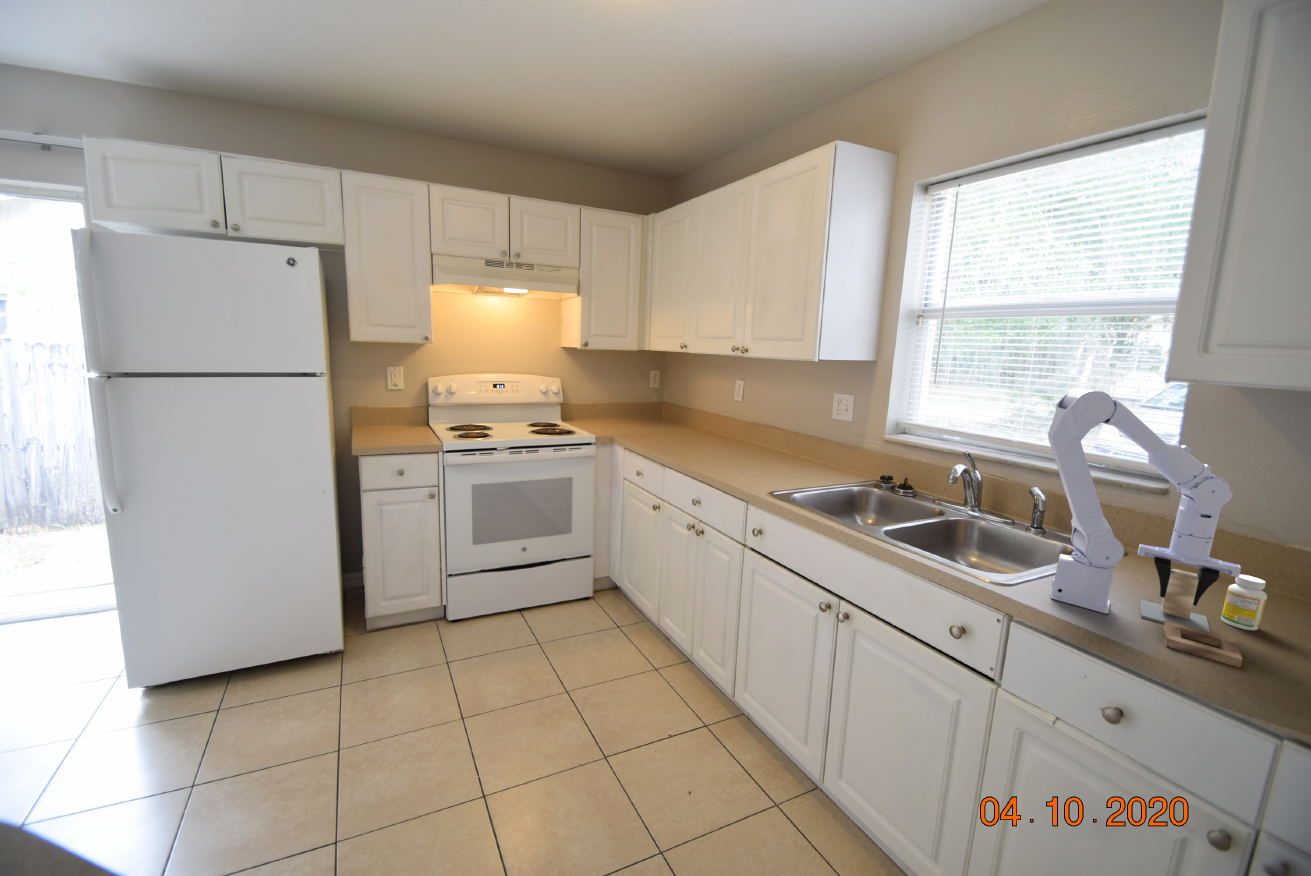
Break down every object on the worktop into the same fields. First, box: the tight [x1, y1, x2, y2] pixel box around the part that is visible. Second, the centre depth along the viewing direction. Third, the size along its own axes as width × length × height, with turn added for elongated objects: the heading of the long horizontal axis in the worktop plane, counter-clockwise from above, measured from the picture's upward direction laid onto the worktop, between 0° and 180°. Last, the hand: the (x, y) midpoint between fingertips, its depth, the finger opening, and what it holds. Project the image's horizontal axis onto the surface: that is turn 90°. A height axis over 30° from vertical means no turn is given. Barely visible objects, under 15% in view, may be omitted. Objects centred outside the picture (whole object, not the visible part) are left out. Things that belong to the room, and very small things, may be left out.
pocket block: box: [1162, 620, 1243, 668], centre depth 102 cm, size 10×10×2 cm
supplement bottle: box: [1220, 573, 1268, 631], centre depth 111 cm, size 5×5×10 cm
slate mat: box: [1139, 599, 1211, 632], centre depth 113 cm, size 10×10×1 cm
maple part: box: [1160, 567, 1199, 619], centre depth 112 cm, size 4×4×8 cm
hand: (1177, 599), depth 112 cm, fingers closed on maple part, 4 cm apart
